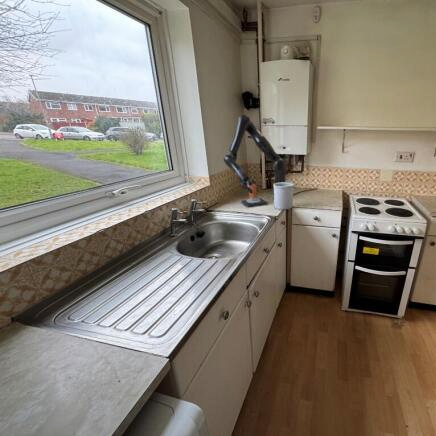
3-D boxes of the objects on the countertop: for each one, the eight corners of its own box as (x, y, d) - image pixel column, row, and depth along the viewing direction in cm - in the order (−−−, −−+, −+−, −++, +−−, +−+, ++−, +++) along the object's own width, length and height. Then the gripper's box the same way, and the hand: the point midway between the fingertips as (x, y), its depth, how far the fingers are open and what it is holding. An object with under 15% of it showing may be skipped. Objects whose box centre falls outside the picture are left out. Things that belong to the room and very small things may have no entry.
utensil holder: (297, 207, 173) (297, 184, 167) (280, 211, 166) (279, 187, 160) (287, 203, 185) (287, 181, 179) (270, 206, 177) (269, 183, 172)
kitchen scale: (260, 200, 194) (260, 197, 193) (267, 204, 182) (267, 201, 181) (241, 203, 186) (241, 199, 185) (247, 207, 175) (247, 203, 174)
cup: (255, 196, 187) (254, 184, 184) (258, 198, 182) (257, 185, 179) (248, 197, 184) (247, 184, 181) (251, 199, 179) (250, 186, 176)
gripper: (238, 173, 174) (251, 190, 173) (250, 171, 186) (262, 187, 185) (233, 180, 179) (246, 196, 177) (245, 177, 190) (257, 193, 189)
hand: (254, 191), depth 181 cm, fingers closed on cup, 6 cm apart
